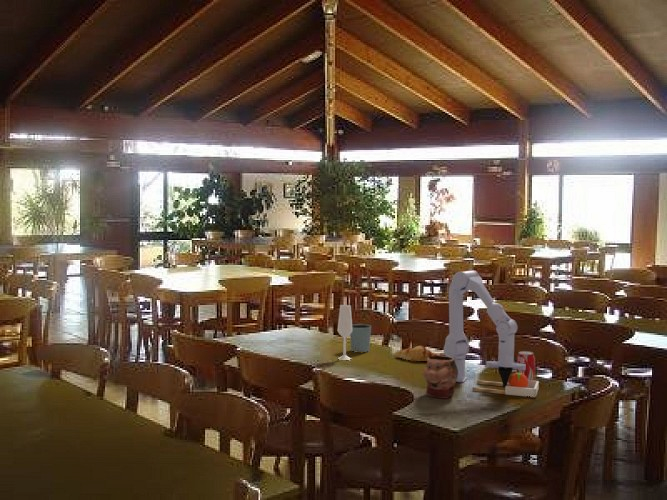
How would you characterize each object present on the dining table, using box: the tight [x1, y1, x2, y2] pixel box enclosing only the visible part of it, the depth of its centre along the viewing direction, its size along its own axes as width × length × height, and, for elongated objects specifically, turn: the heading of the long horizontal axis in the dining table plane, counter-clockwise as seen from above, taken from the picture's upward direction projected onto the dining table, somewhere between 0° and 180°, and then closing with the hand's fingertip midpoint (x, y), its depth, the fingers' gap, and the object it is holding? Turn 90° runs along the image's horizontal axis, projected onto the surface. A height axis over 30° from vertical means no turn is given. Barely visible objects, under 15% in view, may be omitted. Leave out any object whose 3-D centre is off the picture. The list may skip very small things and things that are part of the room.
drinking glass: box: [349, 323, 372, 353], centre depth 359 cm, size 10×10×12 cm
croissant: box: [395, 345, 442, 362], centre depth 343 cm, size 21×10×8 cm, turn 66°
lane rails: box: [472, 379, 509, 395], centre depth 293 cm, size 12×13×1 cm
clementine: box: [508, 372, 528, 388], centre depth 289 cm, size 8×7×7 cm
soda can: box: [516, 350, 536, 381], centre depth 302 cm, size 7×7×12 cm
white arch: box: [504, 380, 540, 398], centre depth 289 cm, size 11×14×3 cm
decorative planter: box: [423, 355, 458, 399], centre depth 282 cm, size 20×12×14 cm, turn 158°
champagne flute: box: [337, 304, 353, 361], centre depth 340 cm, size 7×7×24 cm
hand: (505, 387), depth 291 cm, fingers closed
